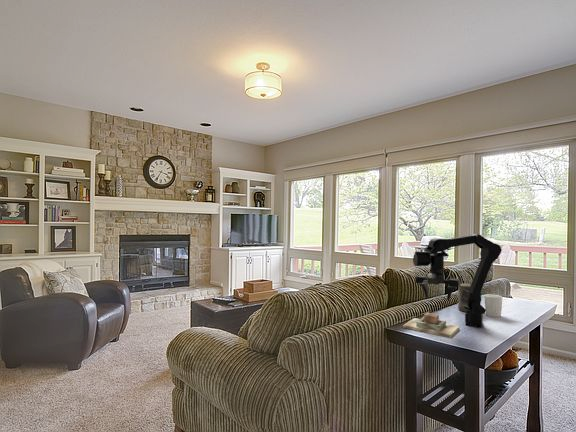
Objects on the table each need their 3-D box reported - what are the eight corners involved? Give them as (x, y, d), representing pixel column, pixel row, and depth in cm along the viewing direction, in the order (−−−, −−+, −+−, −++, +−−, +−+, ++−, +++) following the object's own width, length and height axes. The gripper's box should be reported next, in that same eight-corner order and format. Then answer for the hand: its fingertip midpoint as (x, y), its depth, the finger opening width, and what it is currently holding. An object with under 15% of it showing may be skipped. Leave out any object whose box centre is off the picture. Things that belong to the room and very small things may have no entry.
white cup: (480, 314, 181) (480, 294, 181) (491, 312, 184) (492, 293, 184) (494, 318, 174) (494, 298, 174) (506, 316, 177) (506, 296, 177)
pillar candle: (481, 313, 182) (481, 284, 183) (460, 312, 184) (461, 283, 184) (475, 308, 192) (475, 281, 192) (455, 307, 194) (456, 280, 194)
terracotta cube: (438, 325, 158) (438, 314, 158) (435, 328, 154) (435, 316, 154) (427, 323, 161) (427, 312, 161) (423, 325, 157) (423, 314, 157)
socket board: (459, 329, 157) (459, 322, 157) (450, 337, 146) (451, 329, 146) (414, 320, 169) (414, 313, 169) (403, 327, 158) (403, 320, 158)
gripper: (411, 266, 162) (411, 300, 162) (455, 269, 151) (455, 306, 151) (418, 263, 171) (418, 295, 171) (460, 266, 160) (461, 301, 160)
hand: (437, 299), depth 163 cm, fingers open, 9 cm apart
